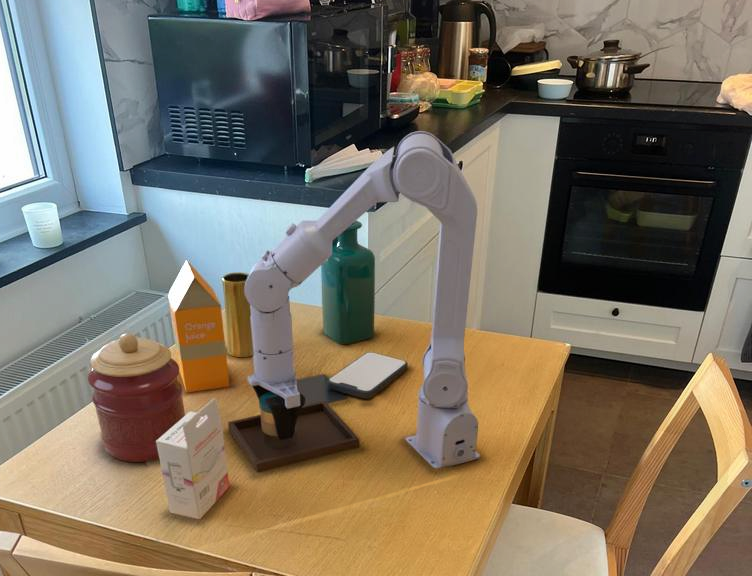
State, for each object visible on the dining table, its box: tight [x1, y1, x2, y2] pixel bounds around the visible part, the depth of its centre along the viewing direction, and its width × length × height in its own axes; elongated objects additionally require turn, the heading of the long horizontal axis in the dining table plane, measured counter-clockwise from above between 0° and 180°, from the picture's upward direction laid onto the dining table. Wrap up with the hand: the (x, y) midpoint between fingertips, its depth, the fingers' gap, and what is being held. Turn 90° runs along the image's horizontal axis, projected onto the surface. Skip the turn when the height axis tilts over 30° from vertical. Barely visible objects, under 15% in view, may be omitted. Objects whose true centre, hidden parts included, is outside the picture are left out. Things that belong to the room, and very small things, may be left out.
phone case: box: [327, 351, 409, 400], centre depth 136 cm, size 9×2×16 cm
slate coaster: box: [296, 373, 348, 405], centre depth 132 cm, size 10×10×1 cm
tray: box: [227, 401, 360, 473], centre depth 119 cm, size 13×16×2 cm
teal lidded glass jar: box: [258, 392, 297, 448], centre depth 117 cm, size 5×5×7 cm
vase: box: [221, 271, 254, 358], centre depth 142 cm, size 6×6×14 cm
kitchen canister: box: [87, 333, 186, 463], centre depth 114 cm, size 13×13×18 cm
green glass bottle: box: [320, 220, 376, 345], centre depth 147 cm, size 10×8×22 cm
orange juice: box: [167, 259, 230, 393], centre depth 131 cm, size 8×9×20 cm
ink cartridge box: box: [156, 397, 230, 520], centre depth 102 cm, size 9×5×15 cm, turn 160°
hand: (279, 428), depth 118 cm, fingers closed on teal lidded glass jar, 5 cm apart
